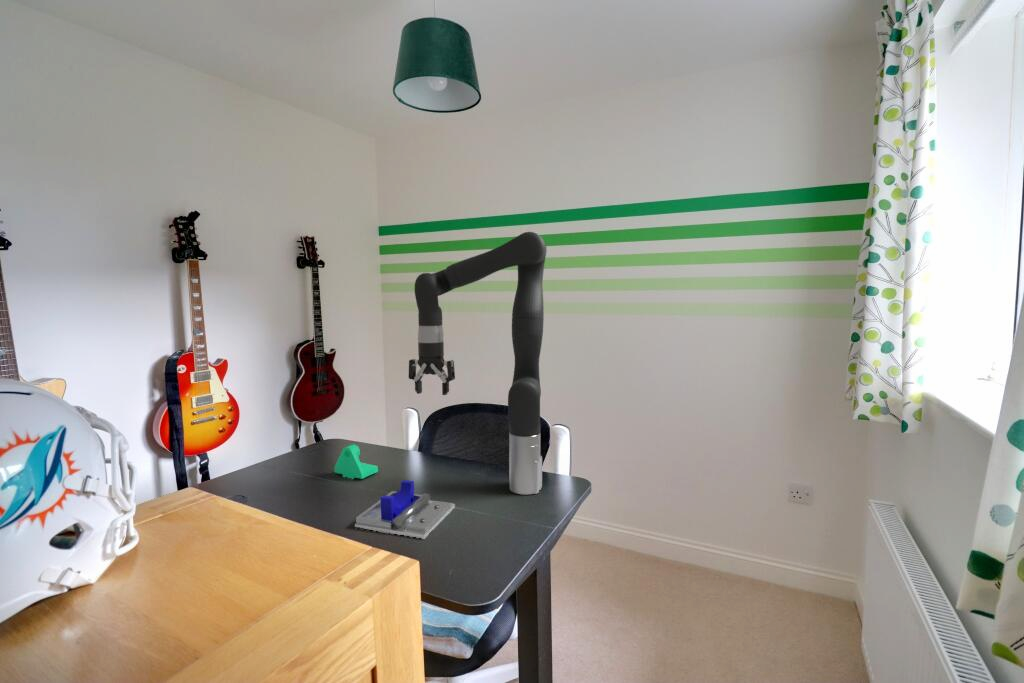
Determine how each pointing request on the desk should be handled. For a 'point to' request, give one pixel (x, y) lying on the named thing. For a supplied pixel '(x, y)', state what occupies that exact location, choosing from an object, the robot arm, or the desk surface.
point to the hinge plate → (403, 528)
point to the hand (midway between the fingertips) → (432, 393)
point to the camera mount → (353, 464)
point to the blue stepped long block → (397, 501)
